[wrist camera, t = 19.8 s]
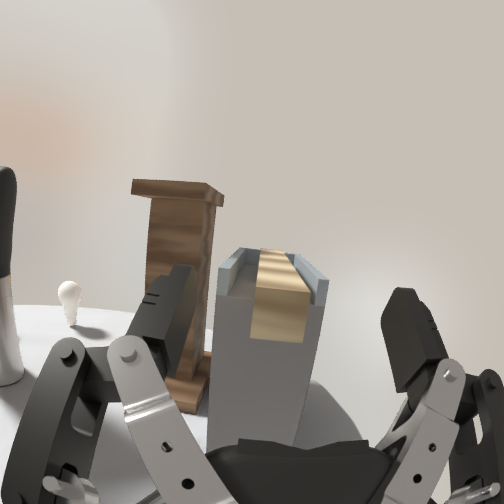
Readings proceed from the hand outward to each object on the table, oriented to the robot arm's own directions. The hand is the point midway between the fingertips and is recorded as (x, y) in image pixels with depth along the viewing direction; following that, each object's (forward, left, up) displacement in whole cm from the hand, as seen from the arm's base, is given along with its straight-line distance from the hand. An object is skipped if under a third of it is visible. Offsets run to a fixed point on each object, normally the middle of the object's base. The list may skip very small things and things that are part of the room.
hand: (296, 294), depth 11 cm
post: (-28, +20, -25) cm, 43 cm away
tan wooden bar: (-9, +16, -4) cm, 19 cm away
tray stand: (-13, +22, -25) cm, 36 cm away
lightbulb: (-59, +14, -25) cm, 66 cm away
